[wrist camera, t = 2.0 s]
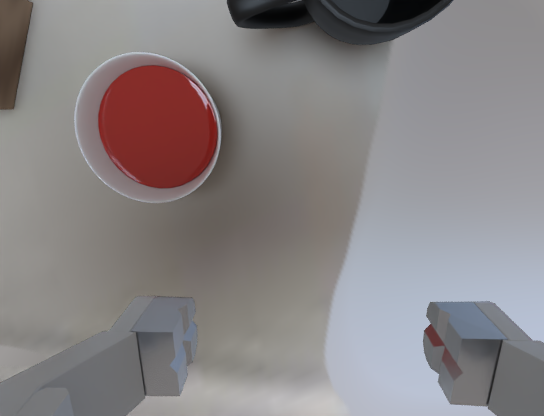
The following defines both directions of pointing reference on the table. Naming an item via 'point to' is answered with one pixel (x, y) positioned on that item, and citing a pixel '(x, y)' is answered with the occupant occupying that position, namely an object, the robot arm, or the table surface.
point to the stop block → (12, 46)
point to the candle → (147, 127)
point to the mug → (339, 16)
